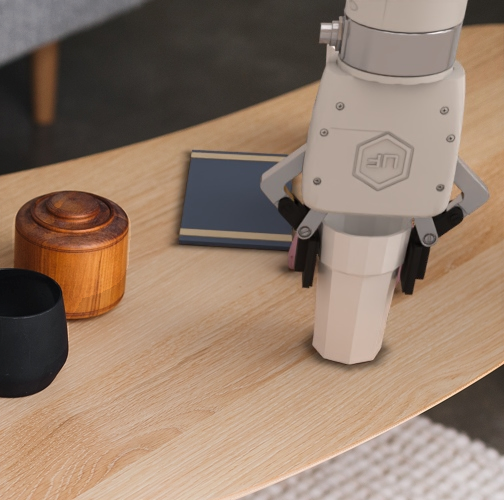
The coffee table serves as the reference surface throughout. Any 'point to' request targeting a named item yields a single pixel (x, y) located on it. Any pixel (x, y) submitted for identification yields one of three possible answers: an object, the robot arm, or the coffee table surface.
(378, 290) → the cup
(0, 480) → the coffee table surface
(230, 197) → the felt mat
